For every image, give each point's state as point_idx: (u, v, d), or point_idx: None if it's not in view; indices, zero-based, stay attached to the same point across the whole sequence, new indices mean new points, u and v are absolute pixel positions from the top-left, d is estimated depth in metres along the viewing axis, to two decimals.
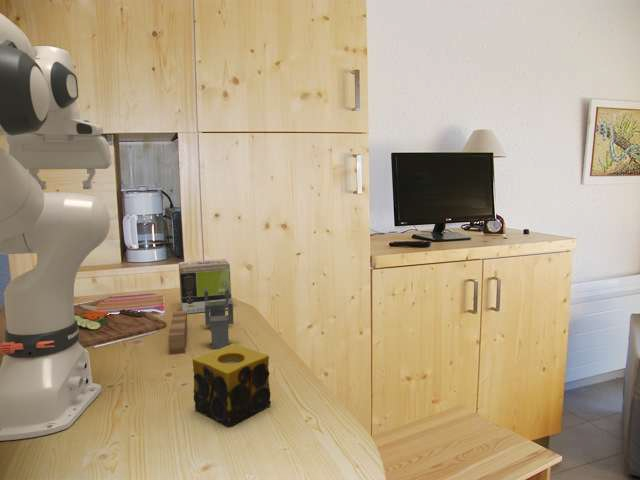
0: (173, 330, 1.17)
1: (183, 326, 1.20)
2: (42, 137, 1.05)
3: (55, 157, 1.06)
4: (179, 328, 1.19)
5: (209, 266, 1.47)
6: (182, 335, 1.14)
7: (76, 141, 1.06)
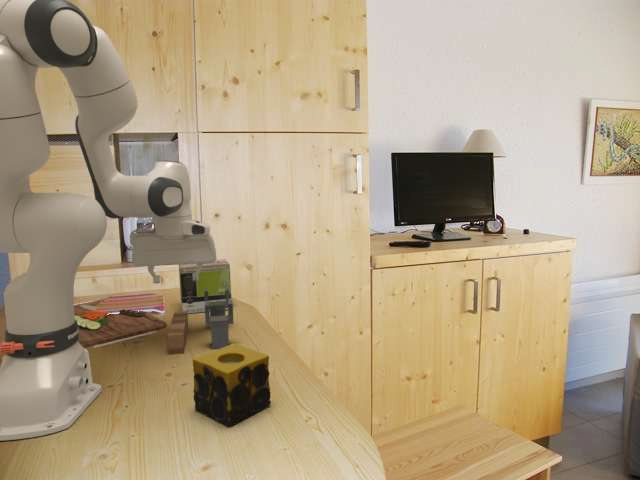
0: (173, 330, 1.17)
1: (183, 326, 1.20)
2: (161, 238, 1.18)
3: (171, 255, 1.19)
4: (178, 328, 1.19)
5: (209, 266, 1.47)
6: (181, 335, 1.14)
7: (190, 240, 1.20)
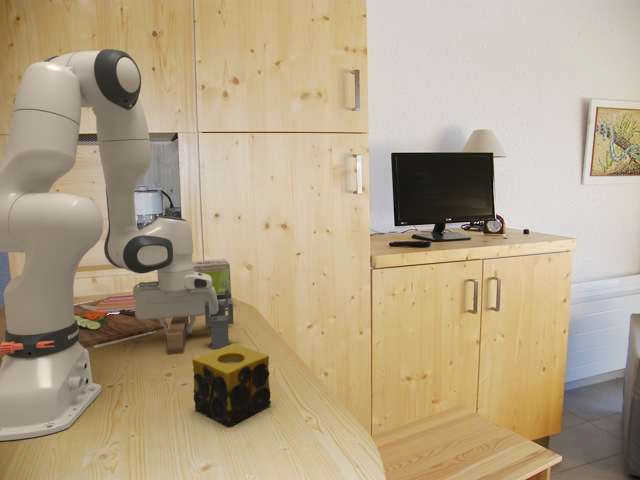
0: (172, 329, 1.17)
1: (182, 326, 1.20)
2: (164, 291, 1.20)
3: (174, 308, 1.21)
4: (178, 327, 1.19)
5: (209, 266, 1.47)
6: (180, 335, 1.14)
7: (192, 293, 1.21)
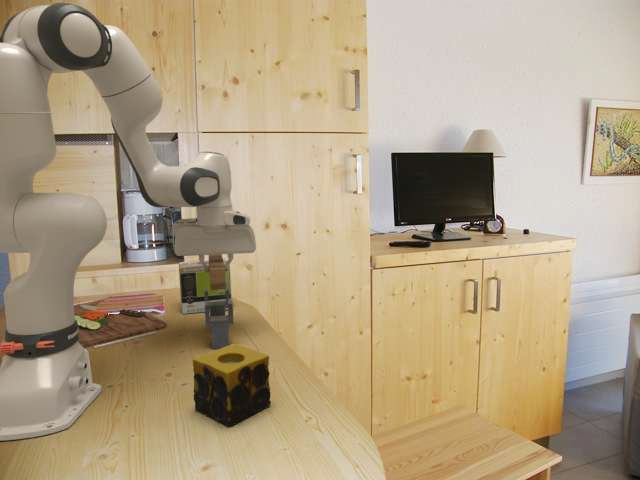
0: (213, 266, 1.18)
1: (222, 263, 1.20)
2: (203, 228, 1.20)
3: (212, 245, 1.21)
4: (218, 264, 1.19)
5: None
6: (223, 270, 1.15)
7: (231, 231, 1.21)
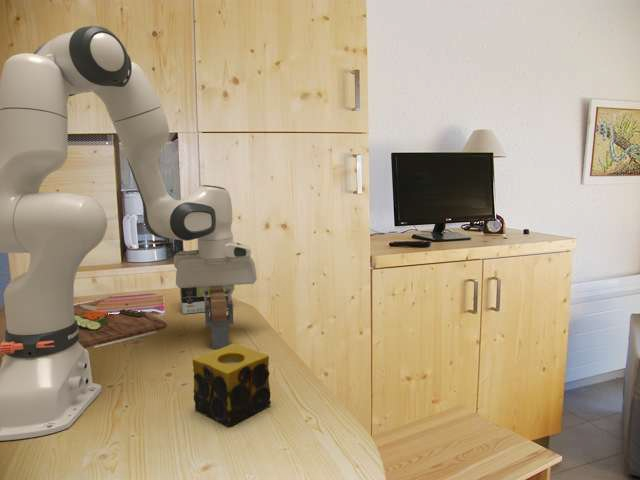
0: (214, 297, 1.19)
1: (223, 294, 1.22)
2: (204, 260, 1.21)
3: (213, 276, 1.22)
4: (219, 296, 1.20)
5: None
6: (224, 302, 1.16)
7: (231, 262, 1.23)
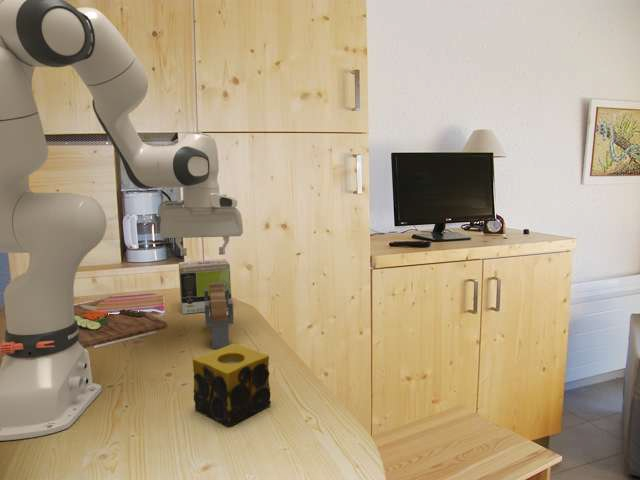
0: (214, 297, 1.19)
1: (223, 294, 1.22)
2: (189, 210, 1.19)
3: (199, 227, 1.20)
4: (219, 296, 1.20)
5: (209, 266, 1.47)
6: (224, 302, 1.16)
7: (217, 213, 1.21)
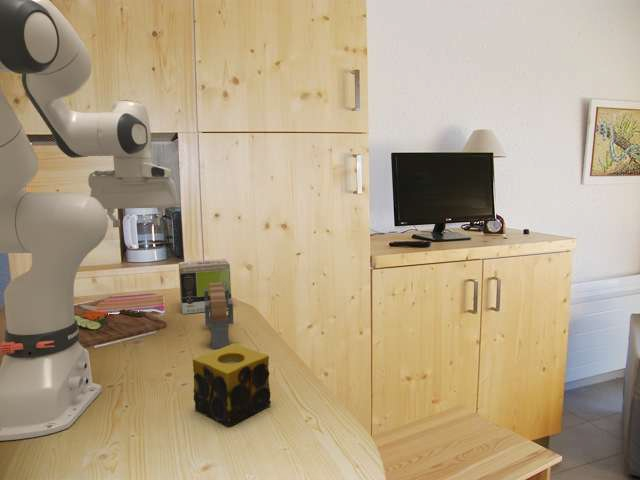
0: (214, 297, 1.19)
1: (223, 294, 1.22)
2: (120, 180, 1.17)
3: (131, 198, 1.18)
4: (219, 296, 1.20)
5: (209, 266, 1.47)
6: (224, 302, 1.16)
7: (149, 183, 1.18)
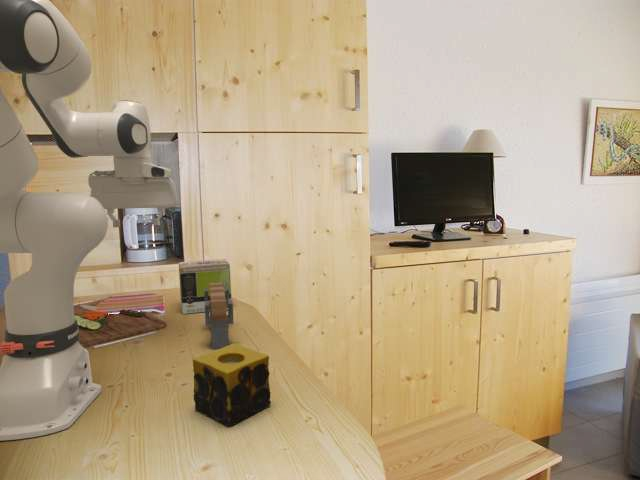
0: (214, 297, 1.19)
1: (223, 294, 1.22)
2: (120, 180, 1.17)
3: (131, 198, 1.18)
4: (219, 296, 1.20)
5: (209, 266, 1.47)
6: (224, 302, 1.16)
7: (149, 183, 1.18)
